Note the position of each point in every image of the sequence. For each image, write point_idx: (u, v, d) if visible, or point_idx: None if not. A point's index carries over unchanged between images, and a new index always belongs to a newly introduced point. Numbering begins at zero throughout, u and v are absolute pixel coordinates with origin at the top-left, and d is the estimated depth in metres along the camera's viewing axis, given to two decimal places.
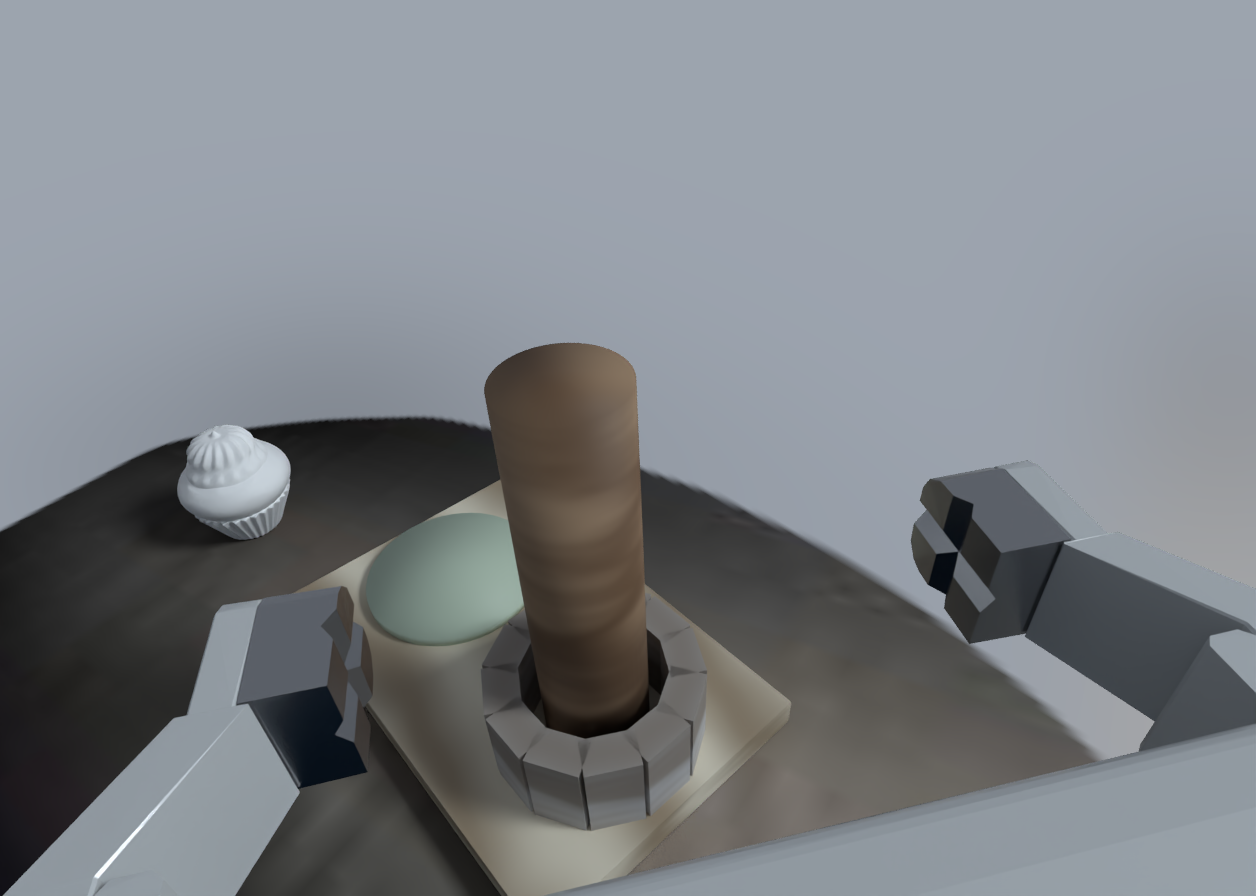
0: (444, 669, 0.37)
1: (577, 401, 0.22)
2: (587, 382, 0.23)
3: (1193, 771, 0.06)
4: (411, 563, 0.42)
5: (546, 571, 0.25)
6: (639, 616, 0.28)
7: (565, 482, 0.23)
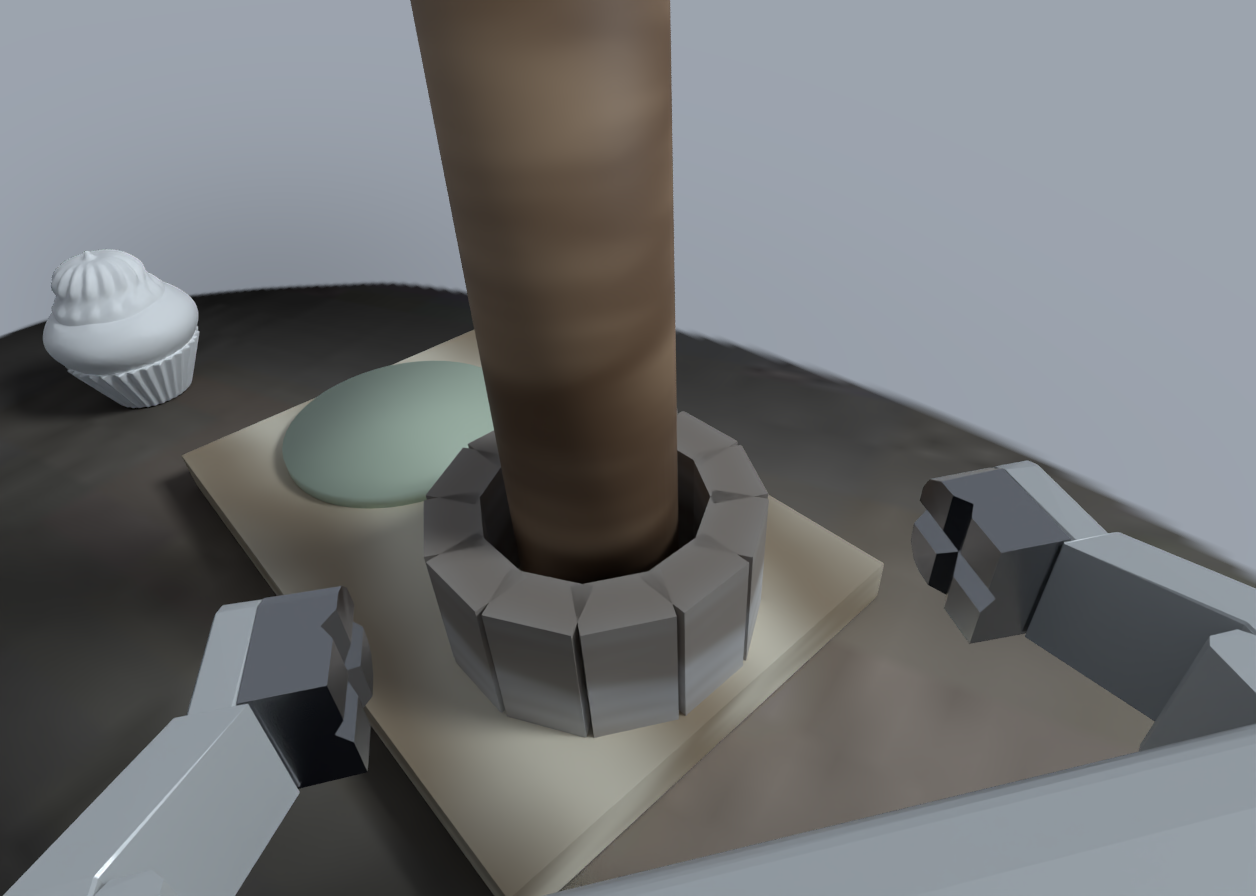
0: (383, 535, 0.26)
1: None
2: None
3: (1193, 770, 0.06)
4: (347, 414, 0.31)
5: (509, 240, 0.14)
6: (668, 373, 0.17)
7: None
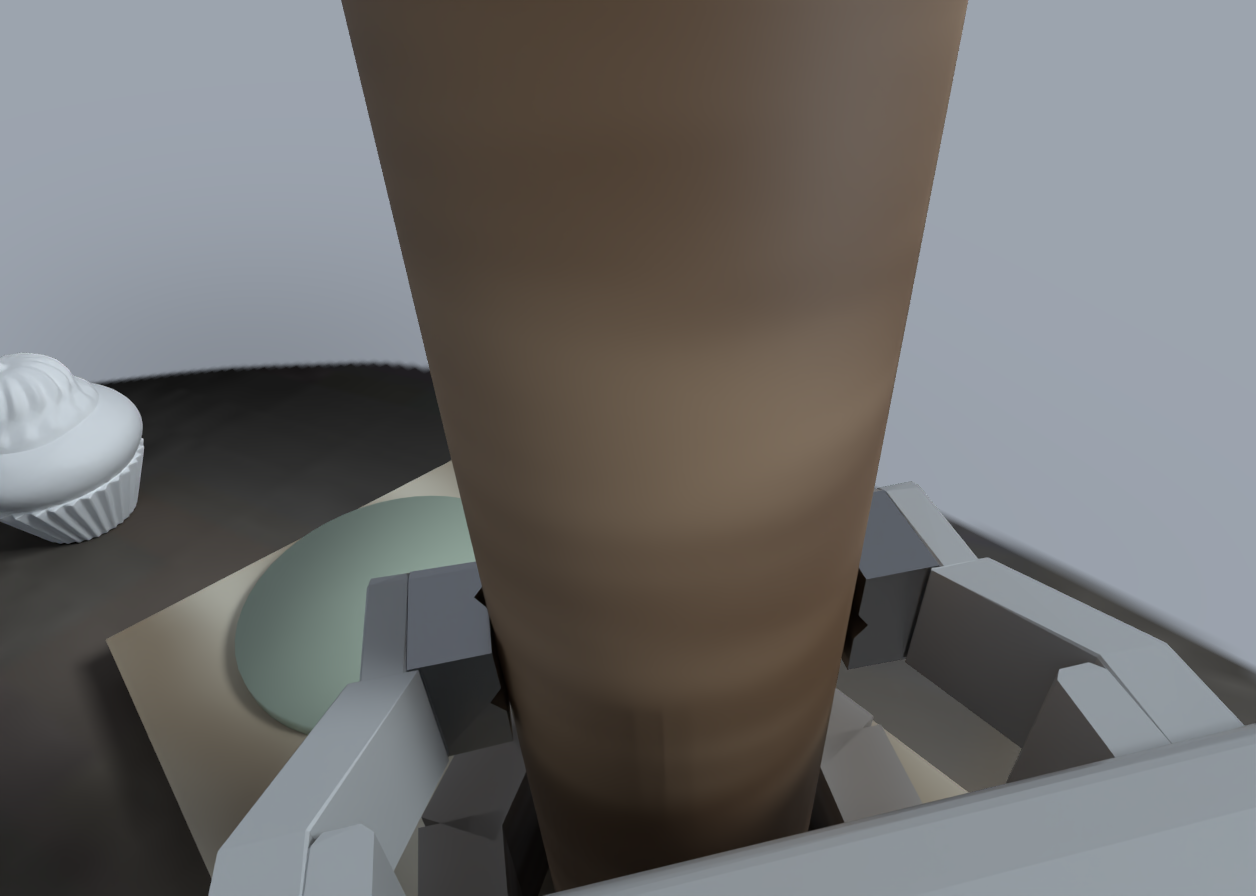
0: None
1: None
2: None
3: (1193, 771, 0.06)
4: (322, 582, 0.24)
5: (582, 632, 0.07)
6: (825, 737, 0.10)
7: (683, 239, 0.05)
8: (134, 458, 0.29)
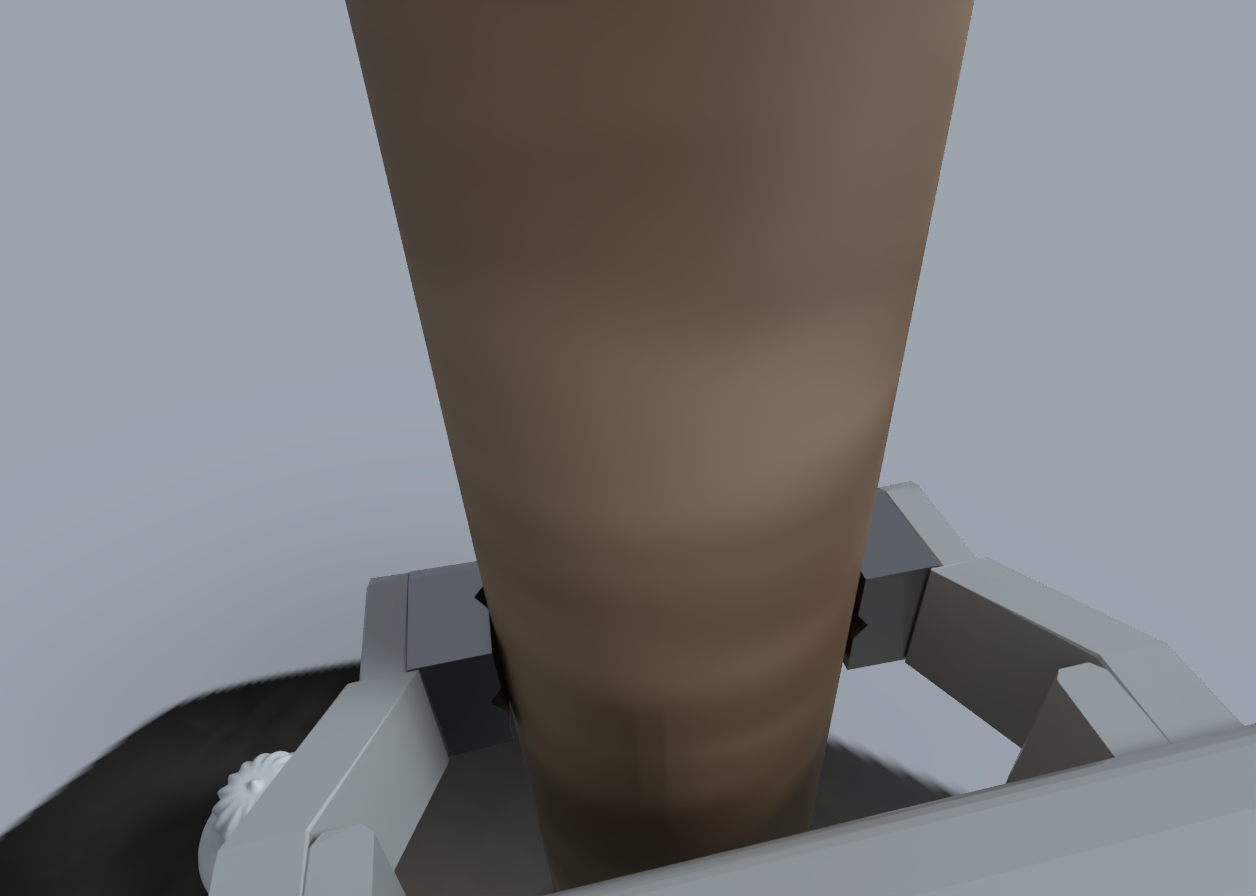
0: None
1: None
2: None
3: (1193, 771, 0.06)
4: None
5: (584, 633, 0.07)
6: None
7: (689, 238, 0.05)
8: None
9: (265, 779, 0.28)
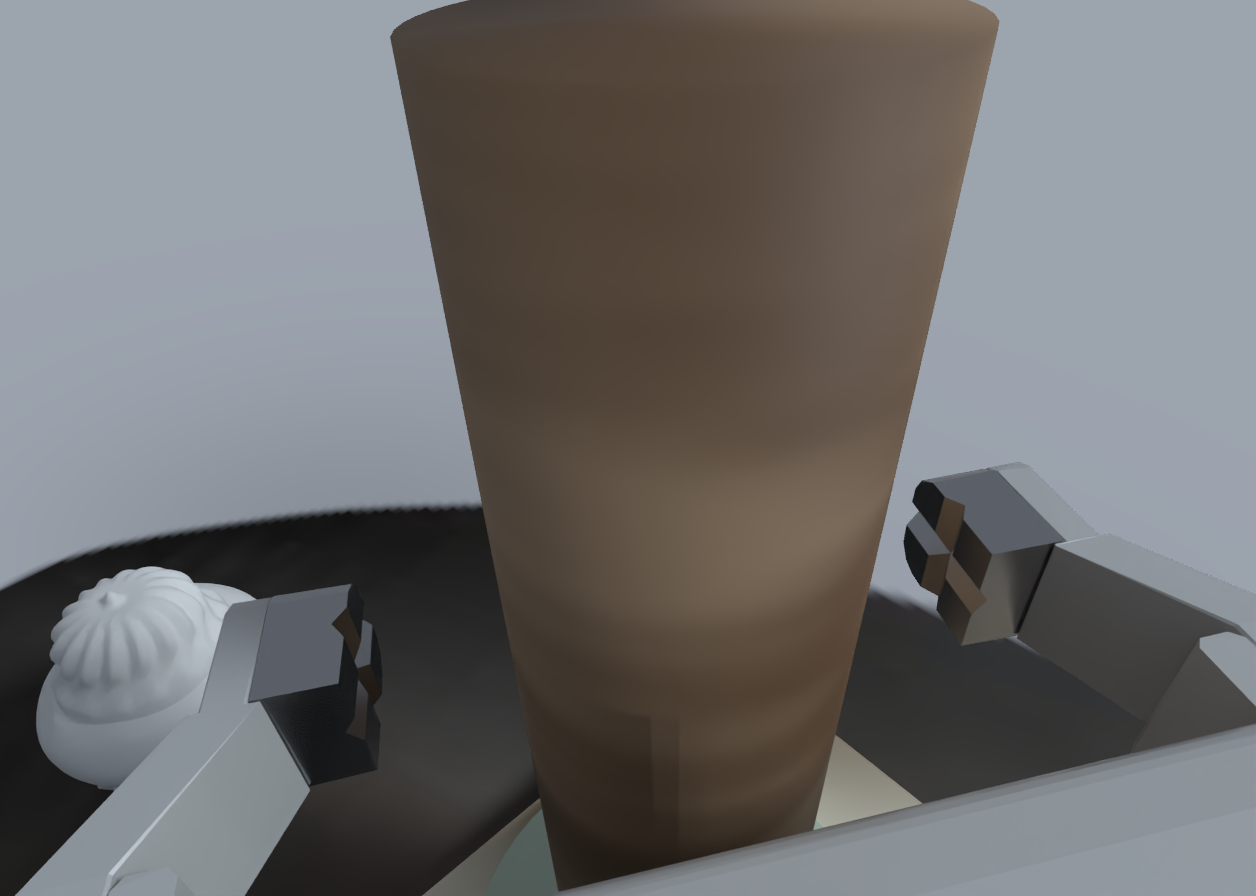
0: None
1: (780, 40, 0.05)
2: (792, 12, 0.06)
3: (1193, 770, 0.06)
4: None
5: (607, 699, 0.08)
6: None
7: (717, 391, 0.05)
8: None
9: (128, 594, 0.20)
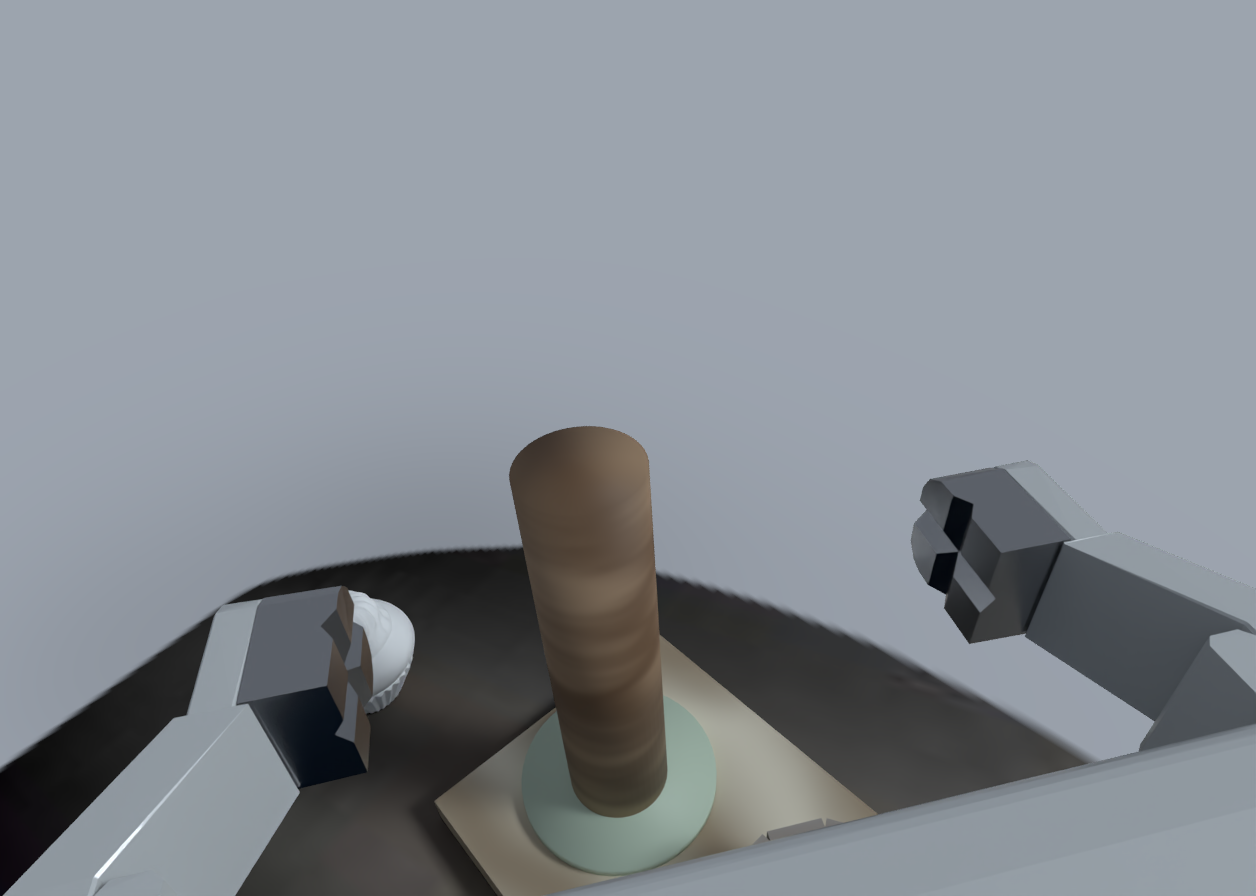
0: None
1: (595, 487, 0.24)
2: (603, 467, 0.25)
3: (1193, 770, 0.06)
4: None
5: (568, 638, 0.27)
6: (655, 673, 0.30)
7: (585, 561, 0.24)
8: None
9: None
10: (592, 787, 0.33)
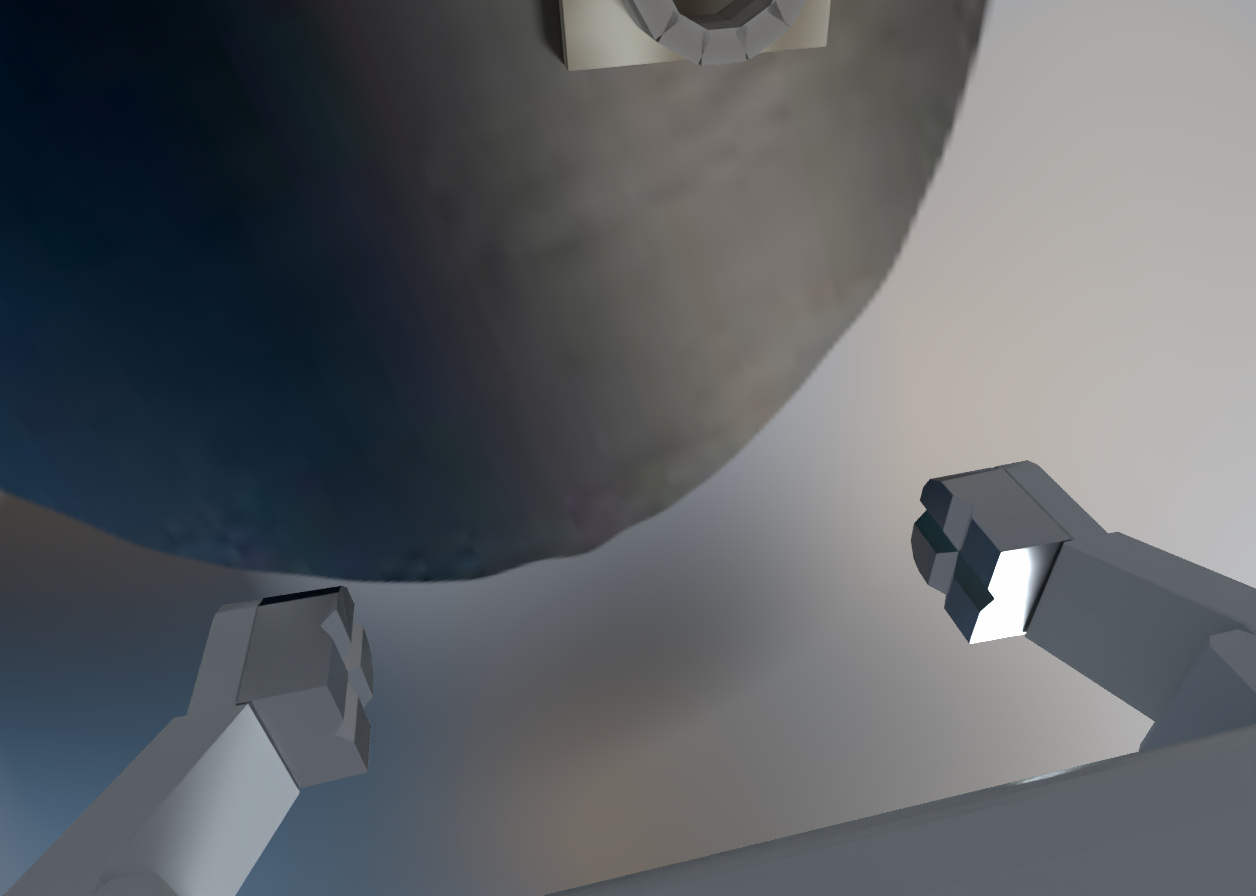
0: None
1: None
2: None
3: (1192, 770, 0.06)
4: None
5: None
6: None
7: None
8: None
9: None
10: None
